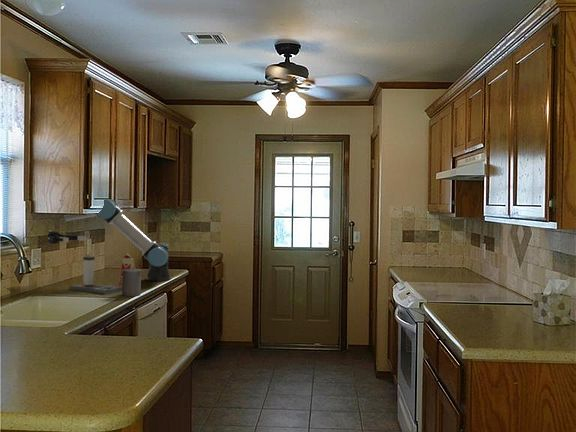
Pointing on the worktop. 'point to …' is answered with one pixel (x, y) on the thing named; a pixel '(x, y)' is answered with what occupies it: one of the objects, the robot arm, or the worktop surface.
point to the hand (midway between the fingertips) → (77, 239)
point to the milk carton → (126, 267)
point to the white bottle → (88, 270)
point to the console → (96, 288)
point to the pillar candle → (131, 282)
